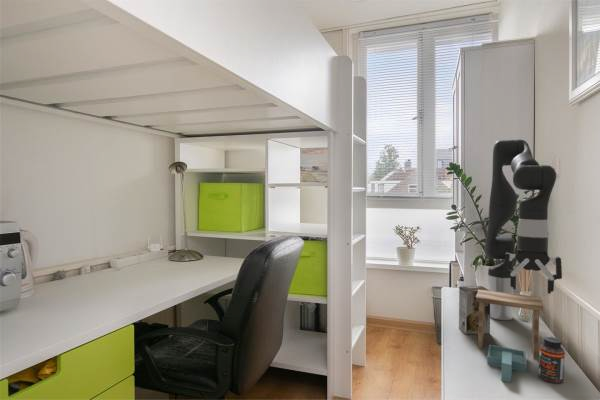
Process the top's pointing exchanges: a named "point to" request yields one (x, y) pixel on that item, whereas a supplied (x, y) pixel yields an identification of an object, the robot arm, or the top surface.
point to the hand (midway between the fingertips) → (531, 290)
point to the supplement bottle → (551, 360)
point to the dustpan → (507, 360)
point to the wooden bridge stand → (511, 301)
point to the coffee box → (472, 310)
